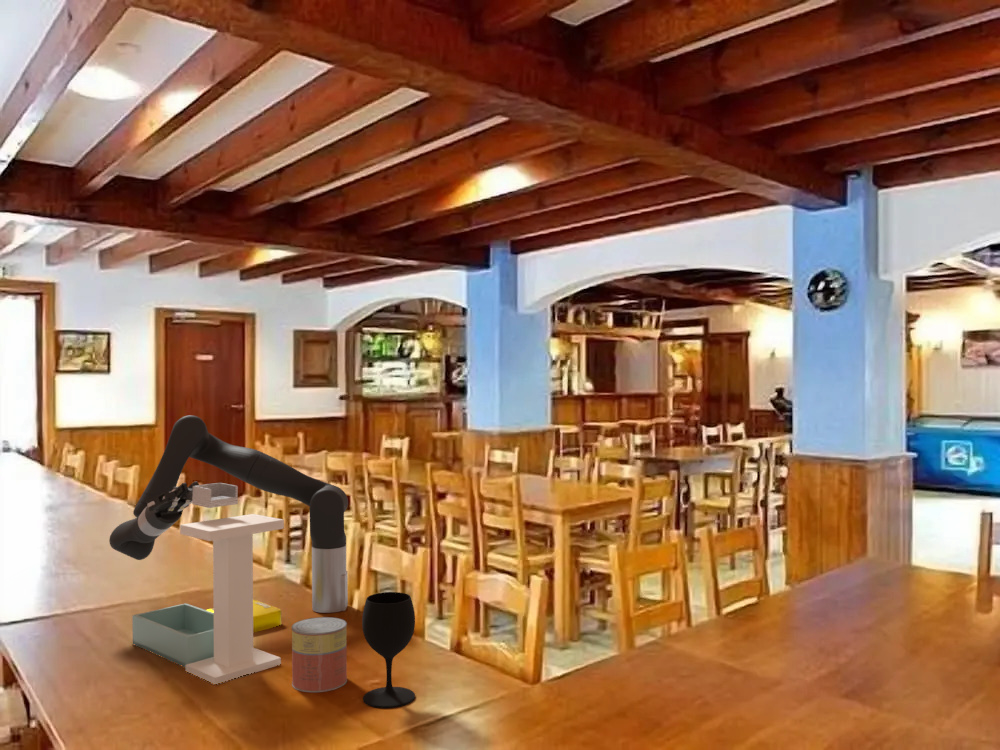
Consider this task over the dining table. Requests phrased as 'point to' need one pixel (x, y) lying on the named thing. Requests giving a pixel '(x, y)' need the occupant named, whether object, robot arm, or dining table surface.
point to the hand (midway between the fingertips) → (191, 486)
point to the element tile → (263, 616)
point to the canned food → (319, 654)
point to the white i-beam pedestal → (232, 596)
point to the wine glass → (388, 641)
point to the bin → (176, 633)
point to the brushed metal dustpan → (212, 495)
